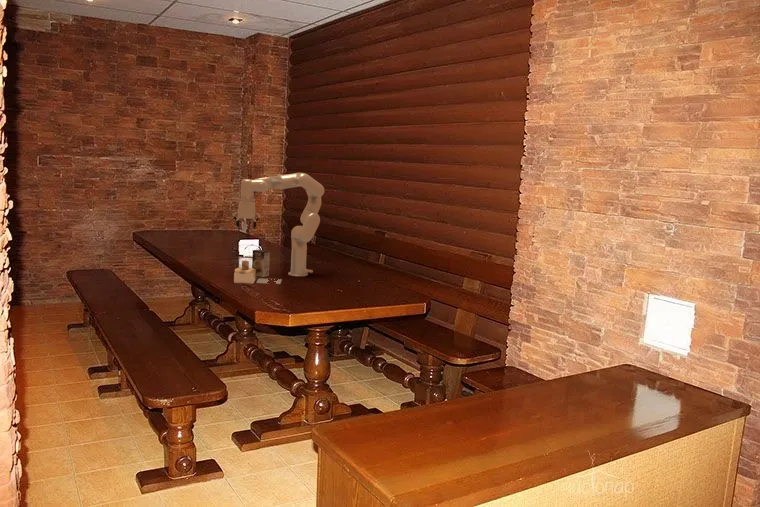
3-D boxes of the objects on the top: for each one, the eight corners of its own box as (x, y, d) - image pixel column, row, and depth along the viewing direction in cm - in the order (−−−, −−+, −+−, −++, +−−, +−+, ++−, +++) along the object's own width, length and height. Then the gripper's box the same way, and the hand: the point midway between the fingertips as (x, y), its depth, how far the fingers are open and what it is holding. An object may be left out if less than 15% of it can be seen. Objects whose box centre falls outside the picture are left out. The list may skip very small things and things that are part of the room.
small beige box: (255, 280, 376) (255, 270, 375) (253, 284, 365) (253, 274, 364) (236, 279, 375) (236, 269, 374) (233, 283, 364) (234, 273, 363)
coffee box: (251, 275, 391) (252, 250, 388) (257, 274, 396) (258, 249, 394) (262, 277, 386) (263, 251, 384) (269, 276, 392) (270, 250, 390)
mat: (281, 279, 383) (281, 279, 383) (280, 284, 369) (280, 283, 369) (258, 278, 381) (258, 278, 381) (256, 283, 368) (256, 282, 368)
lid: (256, 270, 376) (256, 259, 375) (254, 274, 364) (254, 263, 363) (236, 269, 374) (236, 259, 373) (233, 273, 363) (233, 262, 362)
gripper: (262, 200, 383) (261, 228, 386) (233, 198, 382) (232, 226, 384) (260, 201, 376) (259, 229, 378) (231, 199, 374) (230, 227, 377)
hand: (246, 227), depth 381 cm, fingers open, 9 cm apart
